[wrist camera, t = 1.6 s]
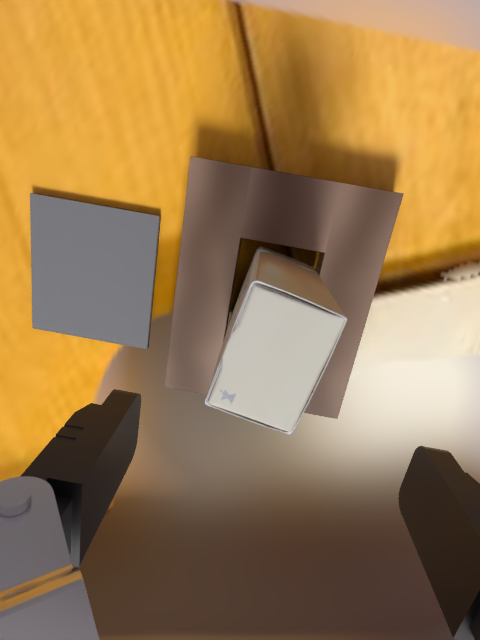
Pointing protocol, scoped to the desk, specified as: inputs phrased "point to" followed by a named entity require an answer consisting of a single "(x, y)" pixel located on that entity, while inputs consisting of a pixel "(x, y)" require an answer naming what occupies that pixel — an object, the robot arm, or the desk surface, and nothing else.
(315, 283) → the skincare box
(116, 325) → the mat
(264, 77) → the desk surface
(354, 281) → the puzzle board
